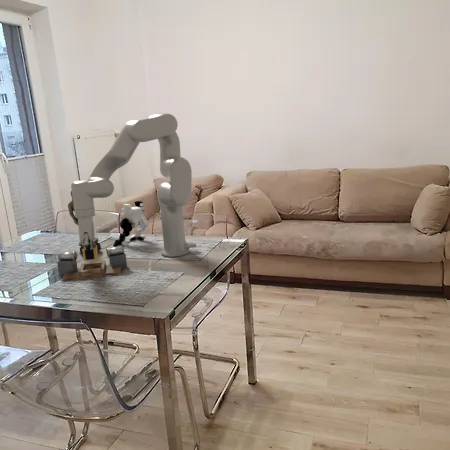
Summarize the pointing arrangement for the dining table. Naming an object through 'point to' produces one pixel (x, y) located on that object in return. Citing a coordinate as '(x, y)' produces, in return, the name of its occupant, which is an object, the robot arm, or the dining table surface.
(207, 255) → the dining table surface
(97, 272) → the bed
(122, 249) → the shaft
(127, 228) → the robot toy
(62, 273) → the shaft
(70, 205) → the statue
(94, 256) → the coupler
